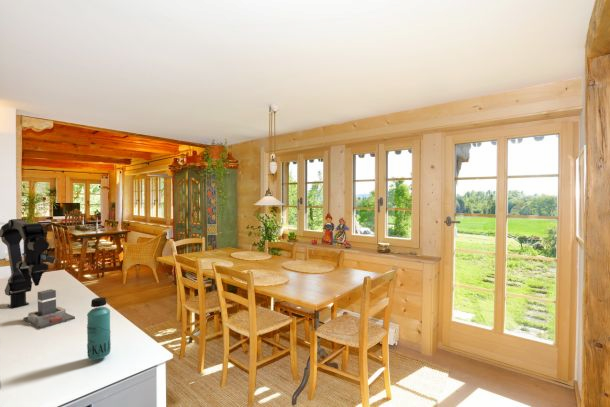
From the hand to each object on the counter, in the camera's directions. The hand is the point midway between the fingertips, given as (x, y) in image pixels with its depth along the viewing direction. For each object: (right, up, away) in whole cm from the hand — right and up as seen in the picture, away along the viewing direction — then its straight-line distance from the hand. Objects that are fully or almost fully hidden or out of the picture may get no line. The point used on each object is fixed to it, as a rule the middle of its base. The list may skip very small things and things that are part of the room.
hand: (32, 284), depth 143 cm
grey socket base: (+15, -13, -8) cm, 21 cm away
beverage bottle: (+59, -14, -42) cm, 73 cm away
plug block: (+13, -12, -7) cm, 19 cm away
